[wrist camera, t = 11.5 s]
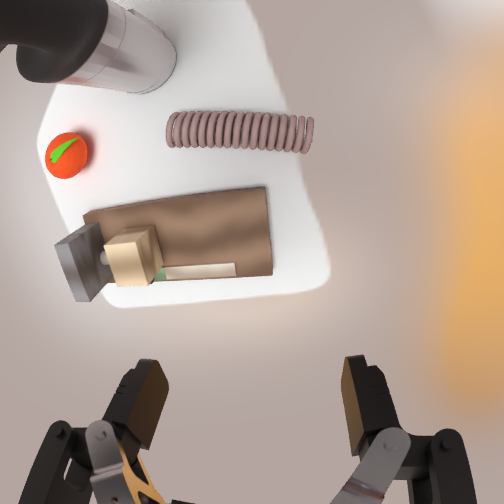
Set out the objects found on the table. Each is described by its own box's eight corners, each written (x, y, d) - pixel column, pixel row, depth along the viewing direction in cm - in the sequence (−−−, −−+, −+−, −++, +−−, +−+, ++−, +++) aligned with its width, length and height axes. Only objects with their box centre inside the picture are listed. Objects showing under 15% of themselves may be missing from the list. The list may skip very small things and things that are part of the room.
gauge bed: (89, 211, 38) (50, 234, 29) (264, 186, 35) (261, 207, 26) (109, 277, 43) (79, 309, 34) (272, 268, 40) (271, 309, 31)
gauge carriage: (108, 231, 37) (86, 247, 32) (154, 225, 36) (135, 242, 31) (123, 280, 41) (106, 300, 35) (167, 278, 40) (153, 301, 34)
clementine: (88, 117, 32) (58, 119, 26) (108, 151, 34) (79, 158, 28) (59, 149, 34) (30, 156, 28) (77, 182, 36) (49, 193, 30)
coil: (161, 151, 30) (315, 158, 29) (160, 113, 28) (319, 118, 27) (174, 144, 34) (310, 151, 33) (174, 111, 32) (314, 116, 31)
